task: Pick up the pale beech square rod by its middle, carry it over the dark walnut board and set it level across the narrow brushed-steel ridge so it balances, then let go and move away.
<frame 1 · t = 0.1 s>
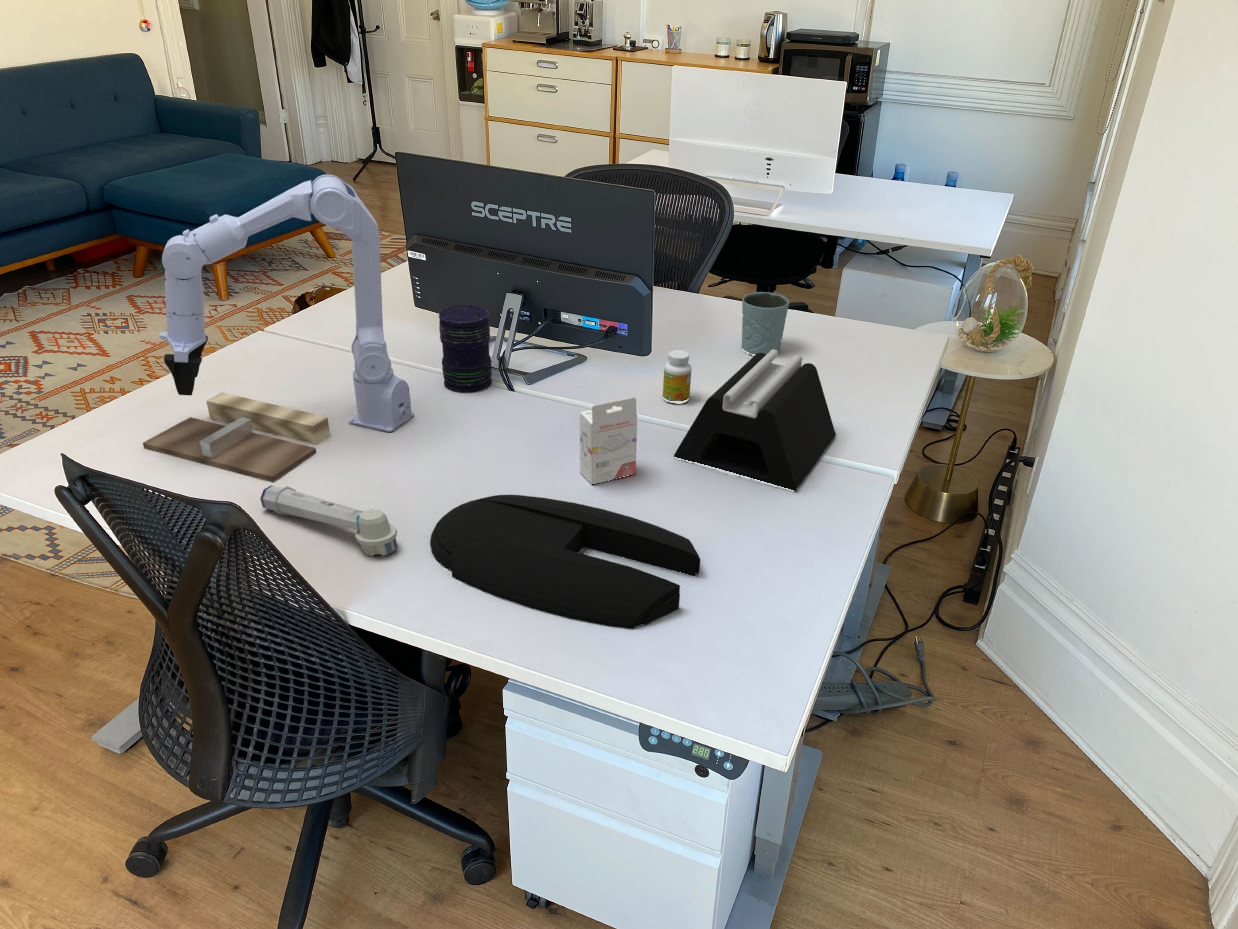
hand: (188, 385, 158), 10 cm above the table, tool pointing down, fingers open, 7 cm apart
ink cartridge box: (607, 475, 157), on the table
embossed green cup: (760, 351, 206), on the table
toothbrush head: (330, 531, 140), on the table
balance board: (230, 450, 160), on the table
beech rod: (269, 428, 169), on the table
device stand: (756, 450, 166), on the table
storage jar: (468, 384, 187), on the table
ridge: (227, 437, 159), on the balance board, point 2 cm above the table
supplement bottle: (675, 400, 183), on the table
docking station: (558, 560, 136), on the table
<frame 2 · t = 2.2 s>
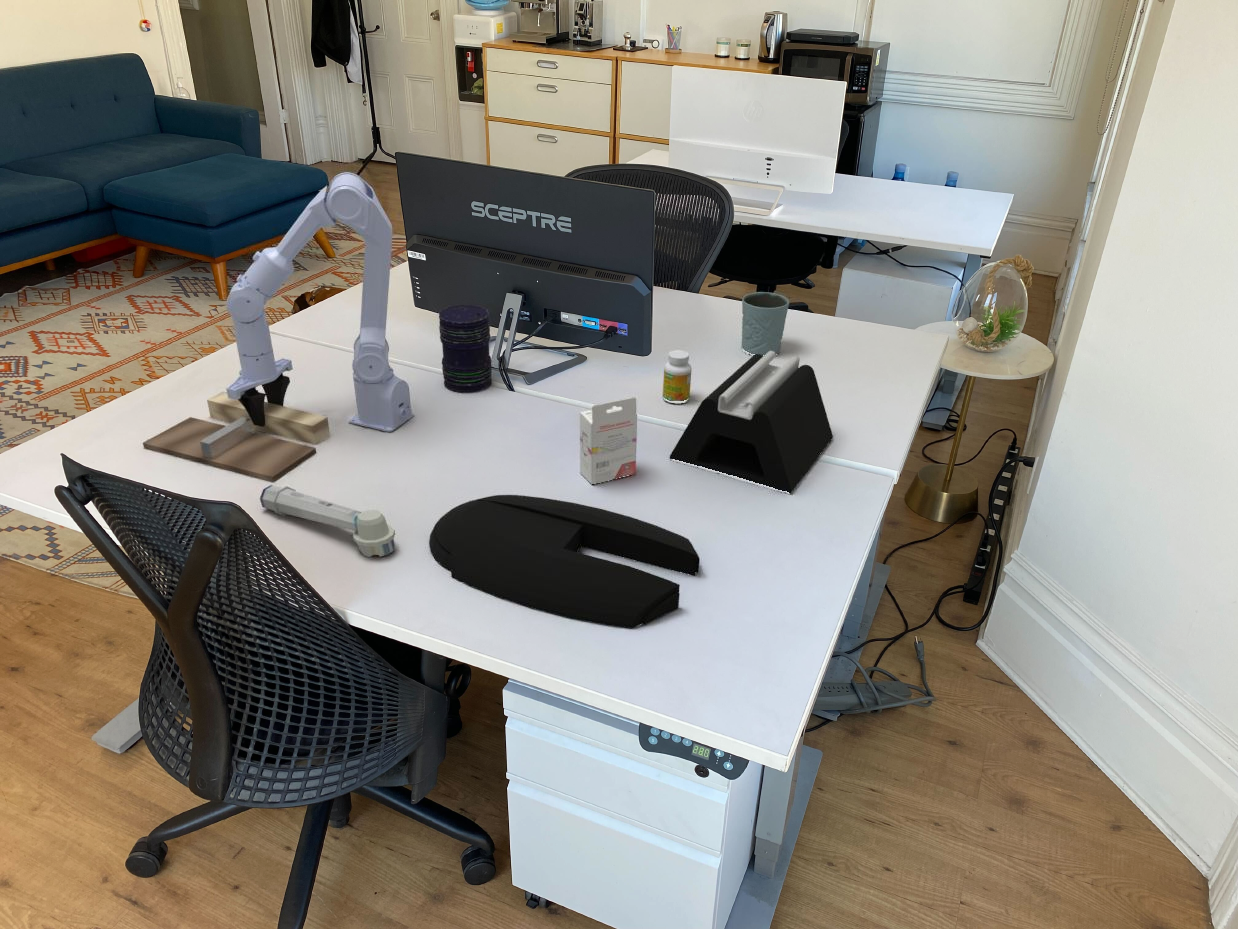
hand: (268, 419, 168), 1 cm above the table, tool pointing down, fingers closed on beech rod, 4 cm apart
beech rod: (269, 427, 168), on the table, touching gripper
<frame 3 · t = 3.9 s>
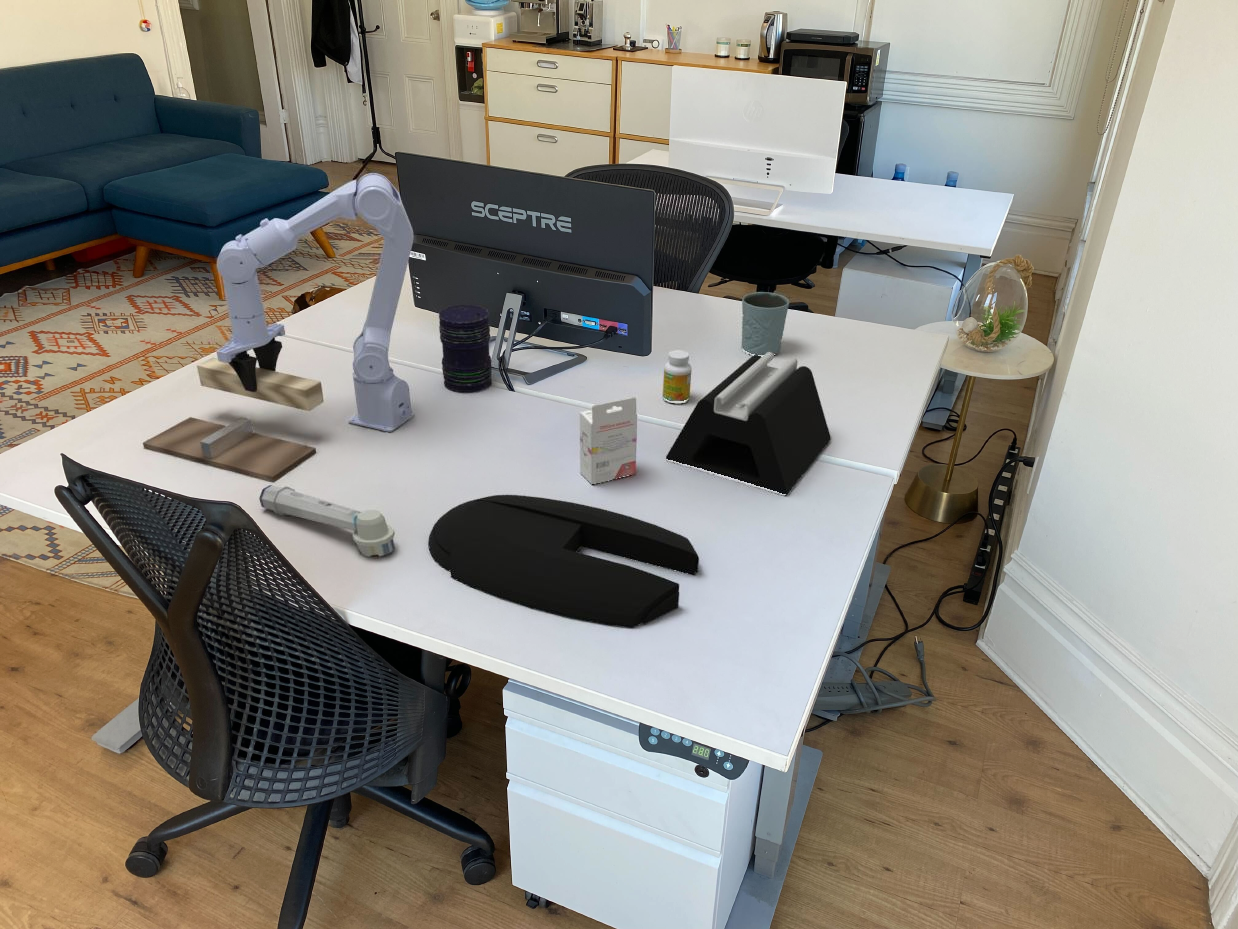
hand: (260, 385, 164), 8 cm above the table, tool pointing down, fingers closed on beech rod, 4 cm apart
beech rod: (261, 393, 165), point 7 cm above the table, touching gripper
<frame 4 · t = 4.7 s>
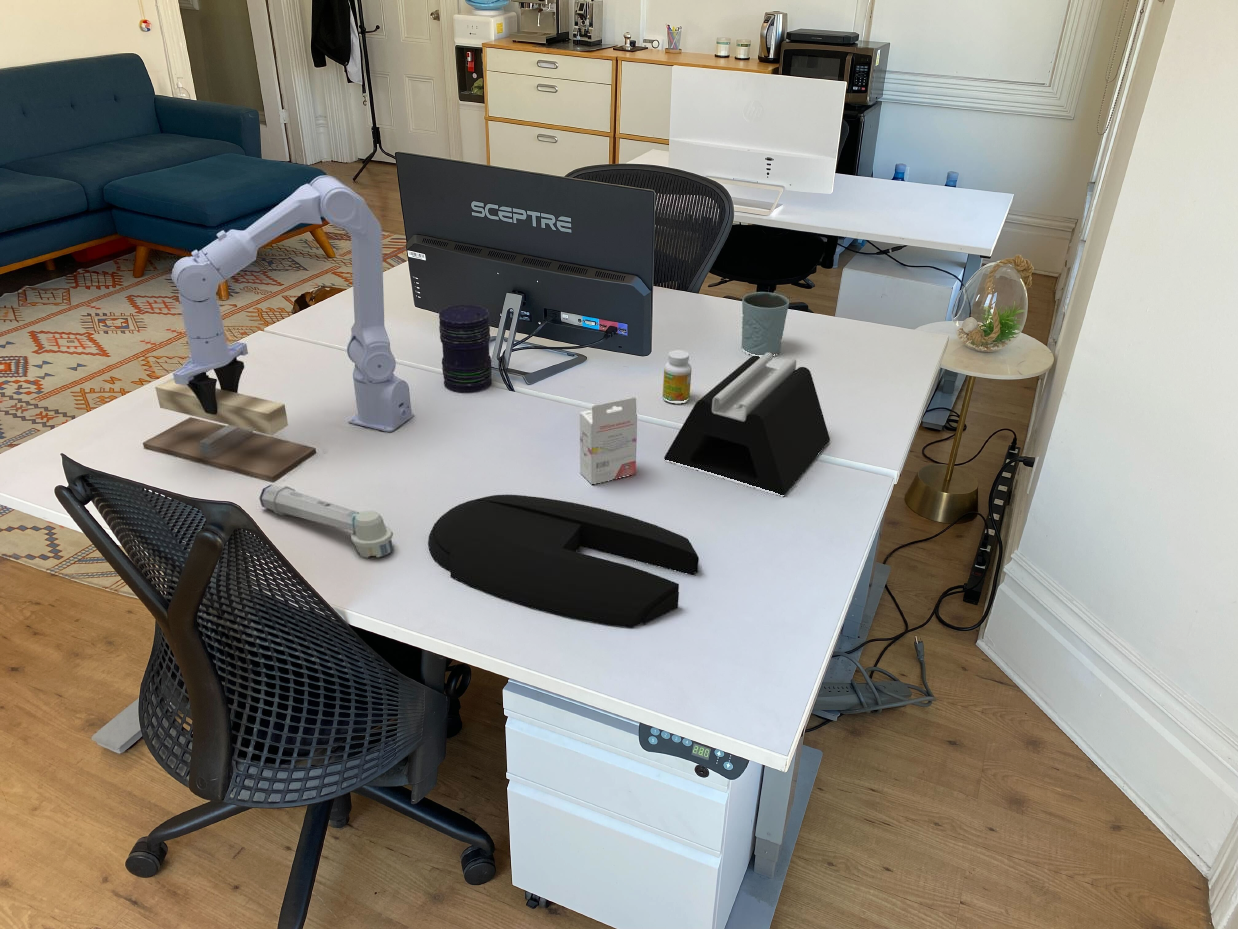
hand: (221, 407, 156), 8 cm above the table, tool pointing down, fingers closed on beech rod, 4 cm apart
beech rod: (223, 416, 157), point 7 cm above the table, touching gripper
when the fingers open (6 cm above the table, at t = 5.6 s): beech rod stays where it is, resting on ridge.
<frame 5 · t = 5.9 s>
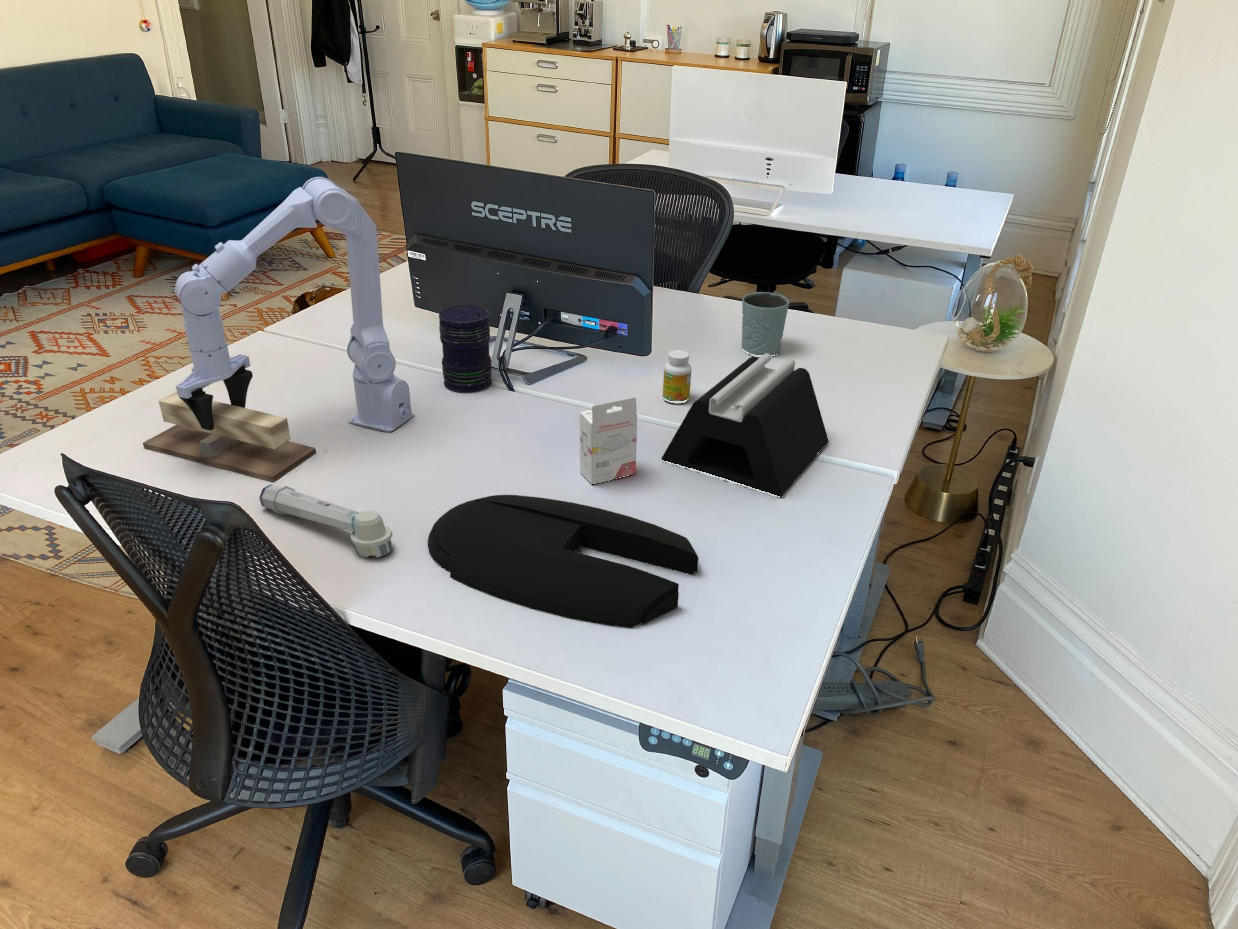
hand: (223, 419, 157), 6 cm above the table, tool pointing down, fingers open, 7 cm apart
beech rod: (226, 430, 158), point 4 cm above the table, touching ridge
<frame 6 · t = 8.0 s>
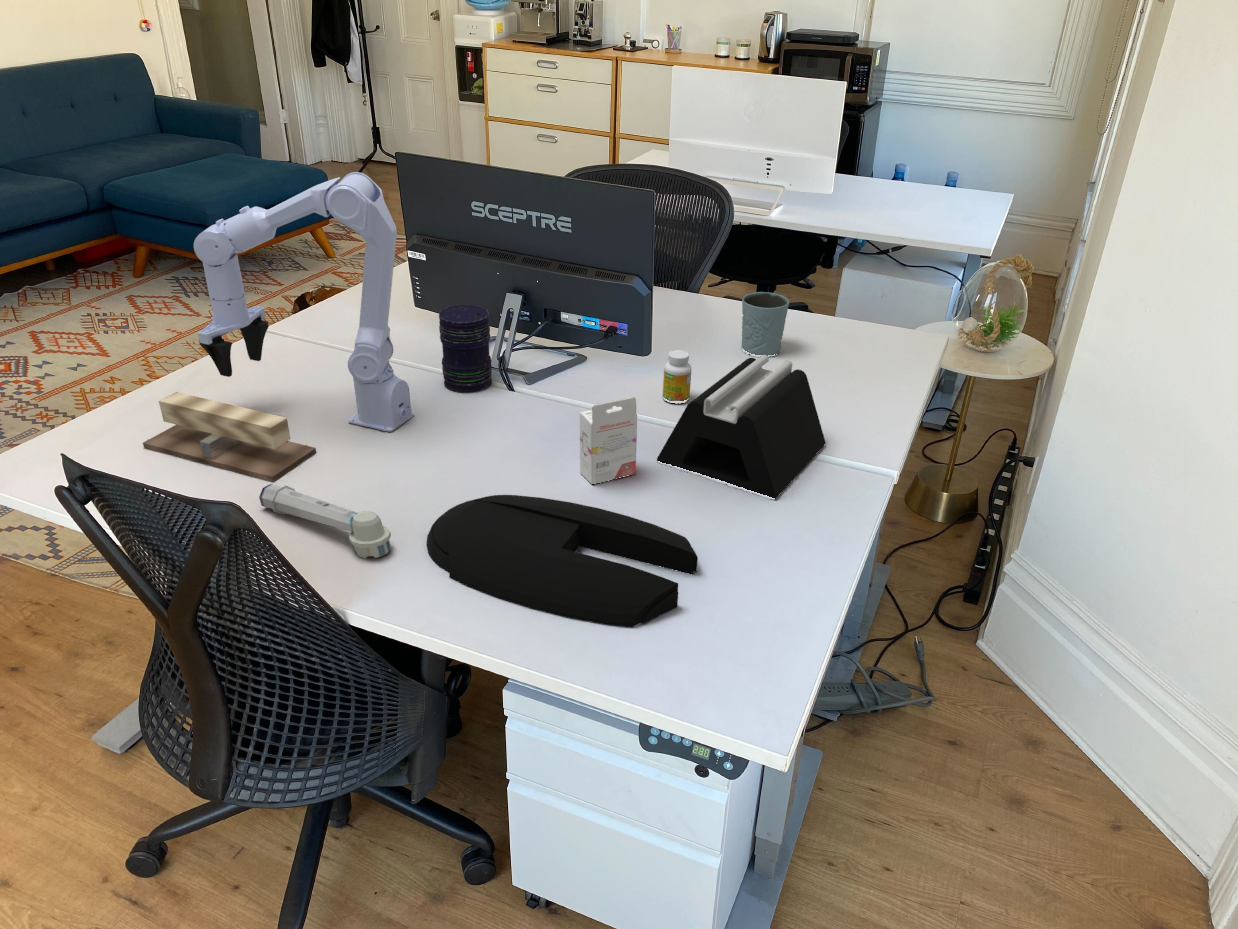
hand: (241, 367, 167), 10 cm above the table, tool pointing down, fingers open, 7 cm apart
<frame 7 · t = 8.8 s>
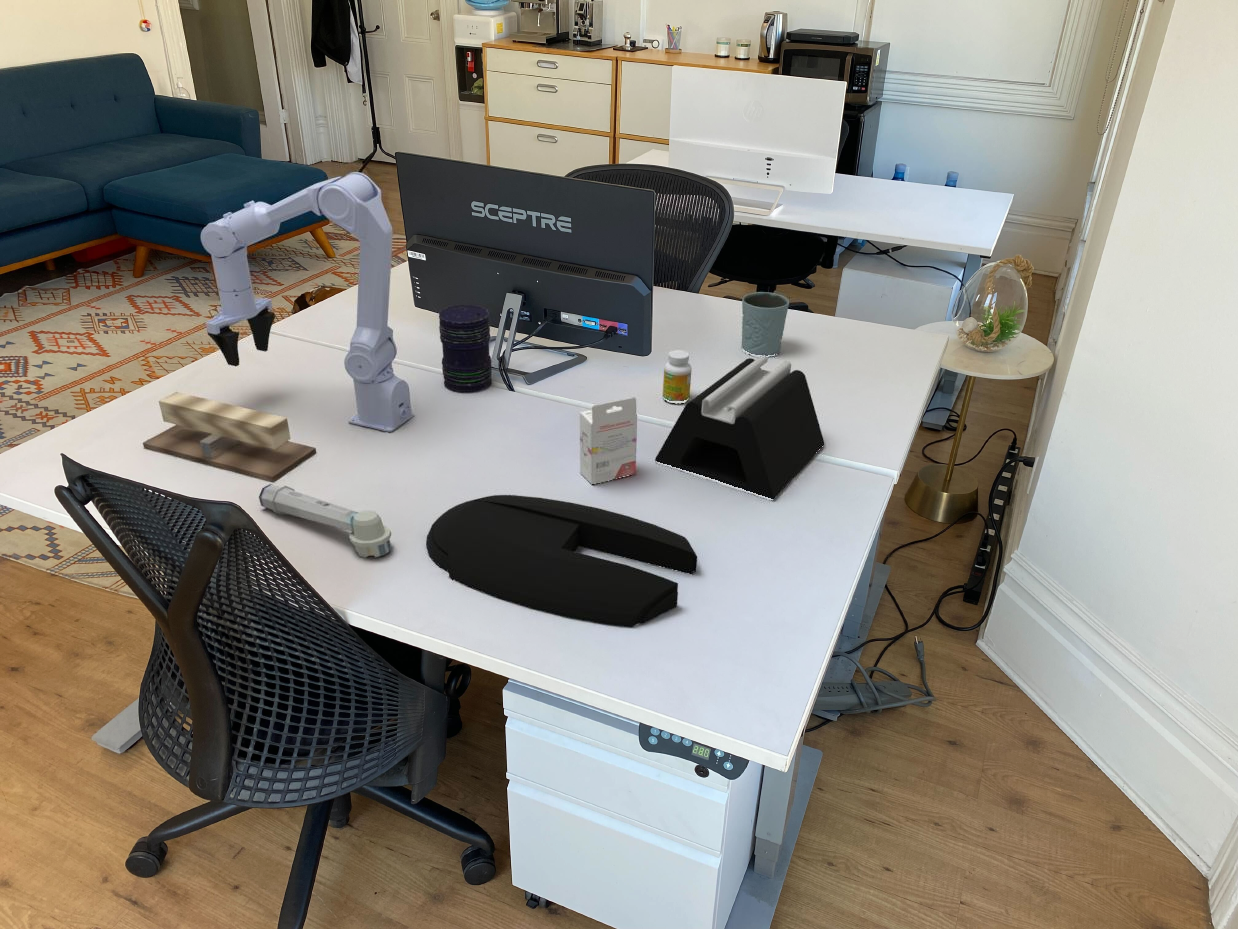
hand: (248, 357, 171), 10 cm above the table, tool pointing down, fingers open, 7 cm apart
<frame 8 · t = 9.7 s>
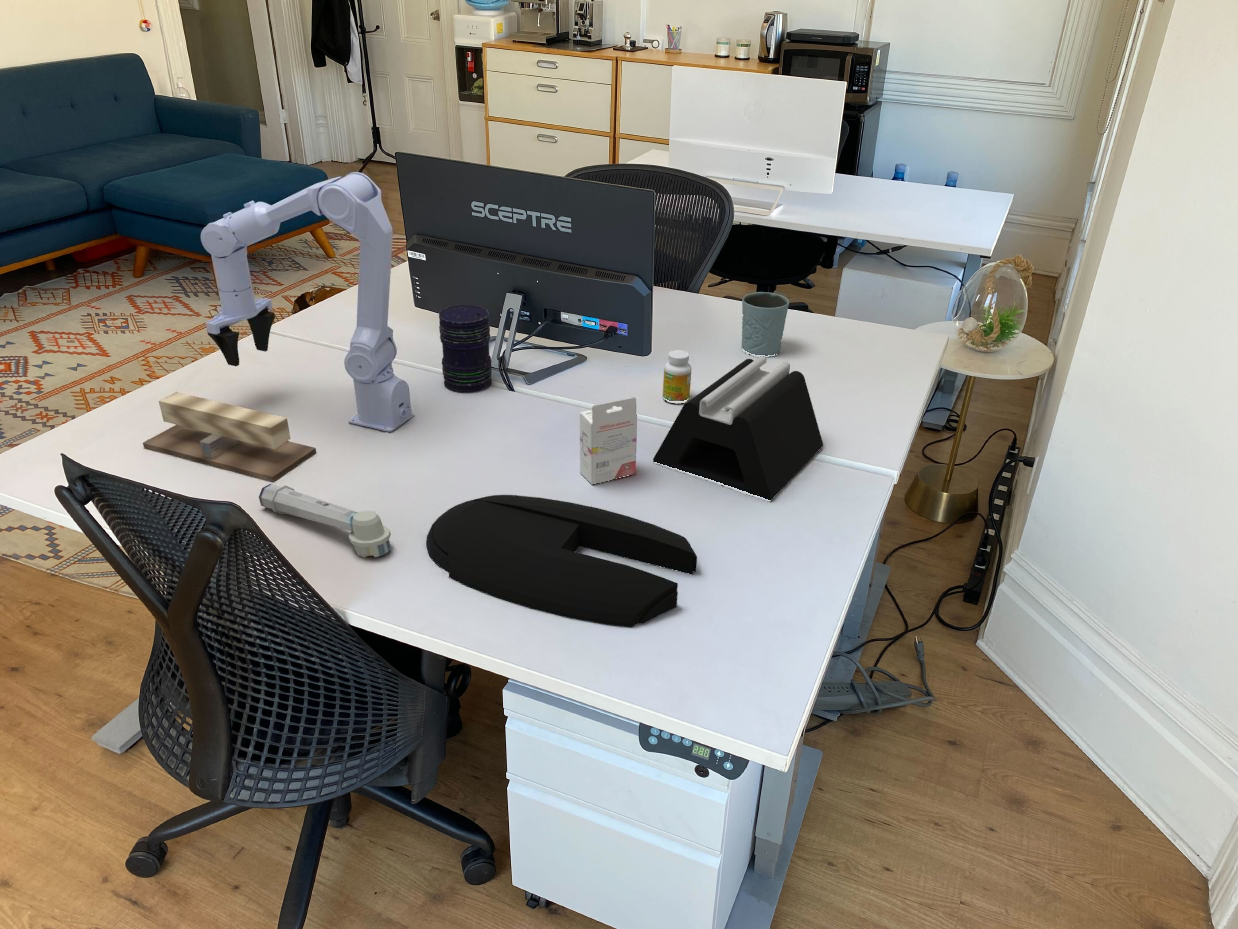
hand: (248, 357, 171), 10 cm above the table, tool pointing down, fingers open, 7 cm apart
at the end: beech rod touching ridge; beech rod tilted 0° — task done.
